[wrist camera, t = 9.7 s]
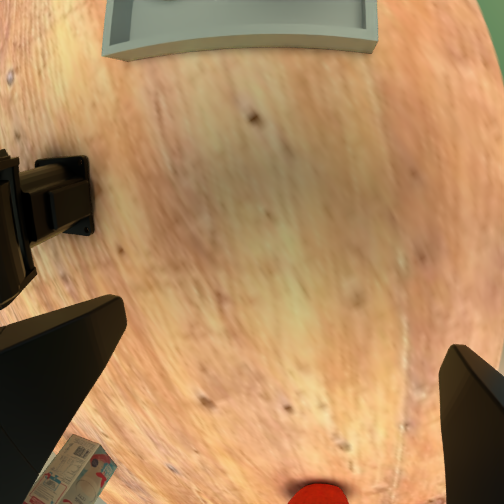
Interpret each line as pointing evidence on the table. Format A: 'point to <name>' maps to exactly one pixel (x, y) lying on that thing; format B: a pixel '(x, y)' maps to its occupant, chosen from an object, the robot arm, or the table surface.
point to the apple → (319, 495)
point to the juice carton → (73, 475)
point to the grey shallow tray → (236, 26)
